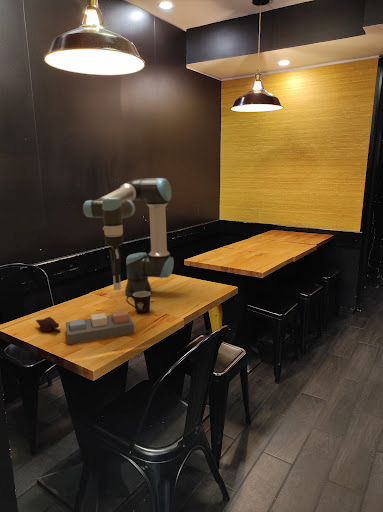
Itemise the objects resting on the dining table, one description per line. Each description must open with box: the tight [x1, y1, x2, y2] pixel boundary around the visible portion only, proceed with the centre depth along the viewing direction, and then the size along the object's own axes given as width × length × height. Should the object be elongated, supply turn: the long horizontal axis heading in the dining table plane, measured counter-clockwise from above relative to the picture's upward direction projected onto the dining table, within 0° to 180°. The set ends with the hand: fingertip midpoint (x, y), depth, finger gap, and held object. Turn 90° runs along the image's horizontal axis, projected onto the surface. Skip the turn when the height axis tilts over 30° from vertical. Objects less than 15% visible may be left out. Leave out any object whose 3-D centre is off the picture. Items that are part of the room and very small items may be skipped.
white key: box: [90, 312, 107, 327], centre depth 158 cm, size 6×6×4 cm
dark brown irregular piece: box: [35, 316, 62, 334], centre depth 162 cm, size 7×7×15 cm
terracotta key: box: [111, 309, 129, 324], centre depth 161 cm, size 6×6×4 cm
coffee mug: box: [125, 291, 152, 315], centre depth 182 cm, size 12×9×10 cm
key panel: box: [65, 314, 135, 345], centre depth 159 cm, size 27×14×5 cm, turn 111°
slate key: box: [68, 318, 86, 331], centre depth 155 cm, size 6×6×4 cm
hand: (117, 289), depth 158 cm, fingers closed
